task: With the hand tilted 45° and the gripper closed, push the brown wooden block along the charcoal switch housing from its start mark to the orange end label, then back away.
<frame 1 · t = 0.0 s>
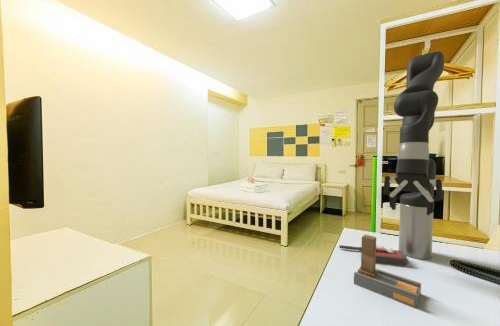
hand: (410, 211, 66), 17 cm above the table, tool pointing down, fingers open, 8 cm apart
walkie-talkie: (372, 258, 74), on the table
brown wooden block: (368, 255, 59), point 7 cm above the table, slide at 0.0 cm
switch housing: (385, 288, 56), on the table
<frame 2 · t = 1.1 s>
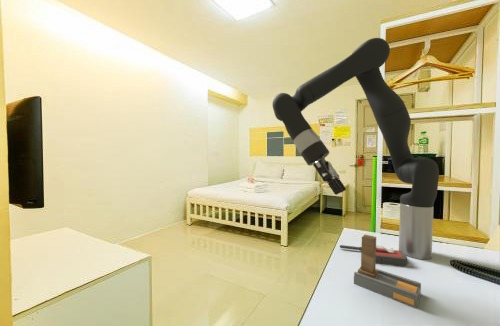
hand: (341, 192, 63), 24 cm above the table, tool tilted 35°, fingers open, 8 cm apart
nothing on the table moved.
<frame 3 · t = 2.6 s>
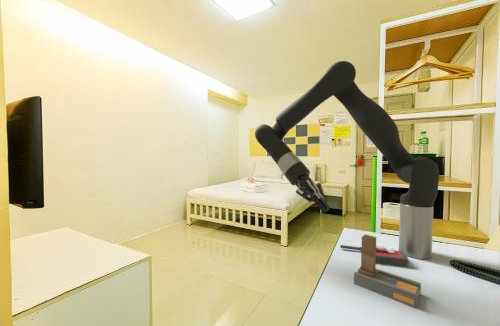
hand: (326, 210, 67), 17 cm above the table, tool tilted 45°, fingers closed
nothing on the table moved.
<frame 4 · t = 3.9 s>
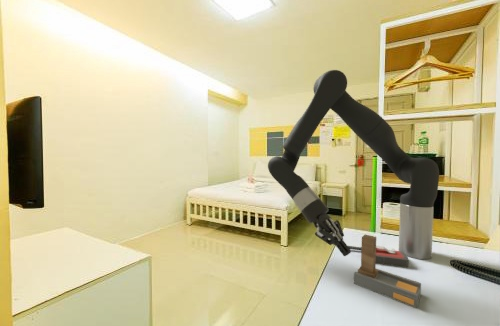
hand: (348, 254, 63), 6 cm above the table, tool tilted 45°, fingers closed
nothing on the table moved.
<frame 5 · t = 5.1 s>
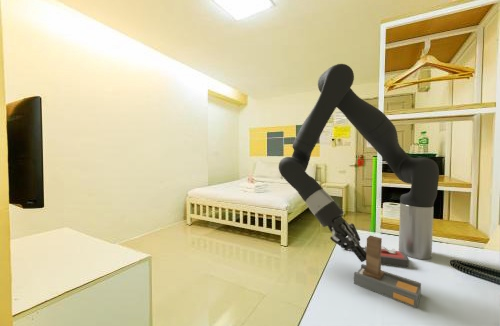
hand: (365, 259, 60), 6 cm above the table, tool tilted 45°, fingers closed
brown wooden block: (373, 256, 58), point 7 cm above the table, slide at 1.3 cm, touching gripper
everything else where it was.
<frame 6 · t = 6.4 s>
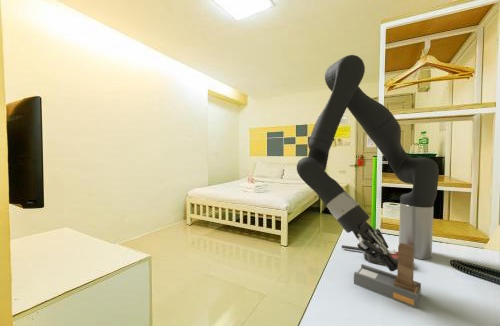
hand: (395, 269, 55), 6 cm above the table, tool tilted 45°, fingers closed
brown wooden block: (405, 266, 53), point 7 cm above the table, slide at 8.3 cm, touching gripper
everything else where it was.
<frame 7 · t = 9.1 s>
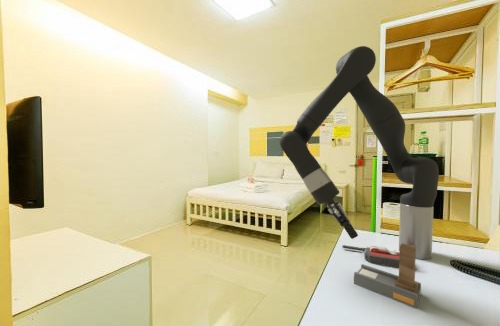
hand: (354, 236, 64), 11 cm above the table, tool tilted 35°, fingers closed
brown wooden block: (407, 266, 53), point 7 cm above the table, slide at 8.5 cm
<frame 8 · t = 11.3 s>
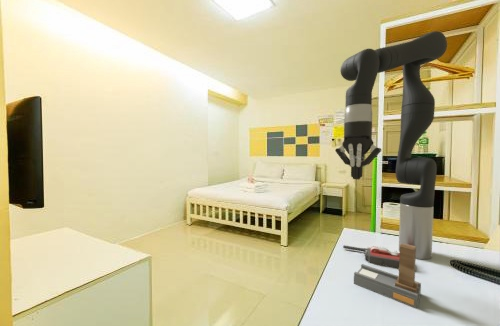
hand: (356, 179, 66), 27 cm above the table, tool pointing down, fingers closed
at the end: brown wooden block slide at 8.5 cm; walkie-talkie moved 1.6 cm from its start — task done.
